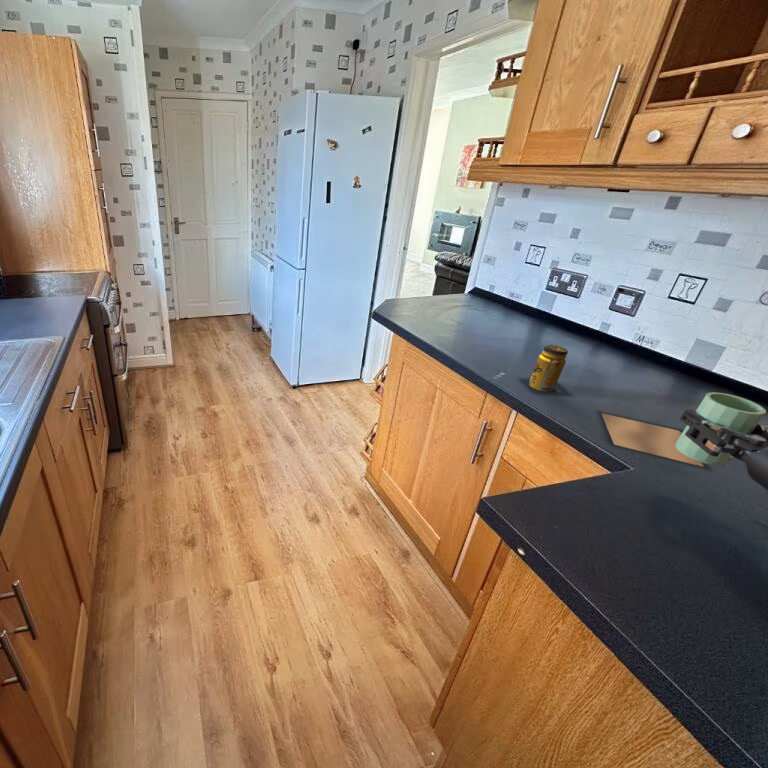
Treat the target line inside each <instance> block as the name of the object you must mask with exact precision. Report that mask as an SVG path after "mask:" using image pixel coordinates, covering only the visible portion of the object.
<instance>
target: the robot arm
mask: <svg viewBox="0 0 768 768" xmlns="http://www.w3.org/2000/svg"><path fill="white" fill-rule="evenodd" d="M679 420H680V421H681V422H682V423H683V424H685V425H686V426H687V425H688V426H689V427H690V428H689V429H688V431H687V432H686V433H685V435H686V436H687V437H688V438H689V439H691V440H692V441H693V442H694V443H695V444H697V445H698V446H699V447H700V448H702V449H703V450H704V451H705V452H706V453H708V454H709V455H712V456H715V457H717V456H718V455H719V454H720V453H721V452H722V453H729V454H730V455H731V456H733V457H734V459H737V460H739V461H741V462H743V463H744V464H745V466H746V470H747V473H748V476H749V477H750V478H751V480H753V481H754V482H755V483H756V484H758V485H760V486H761V487H762V488H764V489H765V490H766V491H768V425H761V424H759V423H758V424H757V426H756V427H755V429H754V430H753V431H752V433H751V434H747V433H745V432H742V431H740V430H737V429H735V428H732V427H730V426H725V427H721V426H719V425H717V424H714V423H712V422H709V420H707V419H706V418H704V417H702V416H701V415H699V414H698V413H696V410H693V409H685V410H684V411H683V413H682V415H681V416H680V418H679ZM710 428H711V429H713V430H716V431H717V432H718V433H717V434H715V433H714V432H713V431H711V430H710ZM728 433H730V434H733V436H732V437H731V439H730V440H729V441H728V444H727V442H726V441H725V437H726V436H727V435H728Z"/></svg>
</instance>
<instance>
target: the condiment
mask: <svg viewBox="0 0 768 768" xmlns="http://www.w3.org/2000/svg"><path fill="white" fill-rule="evenodd" d="M567 355H568V350H567V349H566V348H564V347H563V346H559V345H556V344H555V345H554V344H547V345H545V346H544V347H543V350H542V352H541V354H539V355H538V358H537V361H536V363H535V365H534V369H533V370H532V373H531V376H530V378H529V381H528V385H529V387H530V388H532V389H533V390H536V391H539V392H544V393H551V392H553V391H554V390H555V388H556V386H557V384H558V382H559V379H560V377H561V375H562V372H563V369H564V367H565V365H566V361H567V360H566V358H567Z"/></svg>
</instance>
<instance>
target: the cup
mask: <svg viewBox="0 0 768 768" xmlns="http://www.w3.org/2000/svg"><path fill="white" fill-rule="evenodd" d="M695 412H696V413H698V414H699V415H701V416H702V417H704V418H706V419H707V420H709V422H712V423H714V424H717V425H719V426H721V427H725V426H730V427H732V428H735V429H737V430H740V431H742V432H745V433H747V434H751V433H752V431H753V430H754V429H755V427H756V426H757V424H759V423H760V422H761V421H762V419H763V418H764V417H765V415H766V413H767V410H766V409H765V408H764V407H763V406H762V405H760V404H758V403H756V402H754V401H752V400H749V399H747V398H744V397H741V396H737V395H733V394H729V393H723V392H713V391H712V392H707V393H706V394H705V396H704V397H703V399H702V400H701V402H700V404H699V405H698V407H697V408H696V410H695ZM689 428H690V427H689V426H688V425H687V424H686V426H685V428H684V429H683V431H682V432H681V433H682V434H681V435H680V437H679V439H678V440H677V442H676V444H675V447H676V448H677V450H678V451H680V452H681V453H682V454H684V455H686V456H688V457H690V458H692V459H694V460H696V461H699V462H701V463H702V464H705V465H709V466H714V467H726V466H728V465H729V464H730V462H732V461H733V459H735V457H733V456H731V455H730V454H729V453H722V452H721V453H720V454H719V455H718V456H717V457H715V456H712V455H709V454H708V453H706V452H705V451H704V450H703V449H702V448H700V447H699V446H698V445H697V444H695V443H694V442H693V441H692V440H691V439H689V438H688V437H687V436H686V435H685V433H686V432H687V431H688V429H689ZM710 430H711V431H713V432H714V433H715V434H717V433H718V432H717V431H716V430H713V429H711V428H710ZM732 436H733V434H730V433H728V435H727V436H726V437H725V441H726V442H727V444H728V441H729V440H730V439H731V437H732Z"/></svg>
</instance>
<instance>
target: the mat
mask: <svg viewBox="0 0 768 768" xmlns="http://www.w3.org/2000/svg"><path fill="white" fill-rule="evenodd" d="M601 416H602V418H603V421H604V423H605V425H606V428H607V431H608V433H609V435H610V438H611V441H612V443H613V445H614V446H619V447H622V448H626V449H631V450H634V451H638V452H641V453H642V452H643V453H645V454H646V453H647V454H649V455H650V454H651V455H654V456H658V457H662V458H667V459H670V460H674V461H678V462H682V463H686V464H691V465H694V466H699V467H703V468H705V466H704V463H702V462H699V461H696V460H694V459H692V458H690V457H688V456H686V455H684V454H682V453H681V452H680V451H678V450H677V448H676V447H675V444H676V442H677V440H678V439H679V437H680V435H681V434H682V432H681V431H680V430H678V429H674V428H669V427H664V426H660V425H655V424H651V423H647V422H643V421H638V420H633V419H629V418H625V417H621V416H615V415H612V414H607V413H603V412H602V413H601Z"/></svg>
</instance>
